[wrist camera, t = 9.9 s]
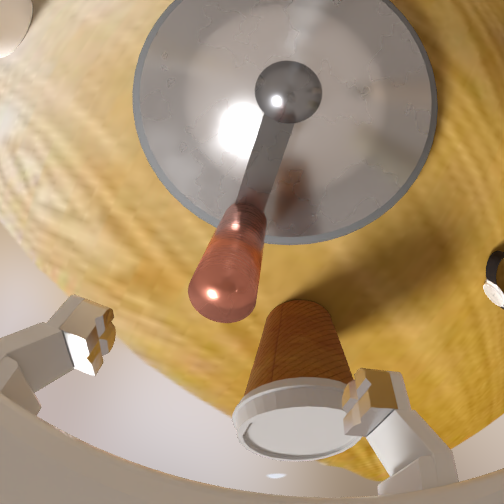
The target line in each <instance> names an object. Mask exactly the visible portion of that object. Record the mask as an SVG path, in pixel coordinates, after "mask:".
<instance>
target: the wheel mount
mask: <svg viewBox="0 0 504 504" xmlns="http://www.w3.org/2000/svg"><path fill="white" fill-rule="evenodd" d="M182 1H183V0H175V1H174V2H173V3H172V4H171V5H170V6H169V7H168V8H167V9H166V10H165V11H164V13H163V14H162V15H161V16H160V18H159V19H158V20H157V22H156V23H155V25H154V27H153V28H152V30H151V31H150V33H149V35H148V37H147V39H146V41H145V43H144V46H143V48H142V50H141V53H140V55H139V59H138V63H137V66H136V70H135V76H134V84H133V113H134V119H135V126H136V130H137V133H138V137H139V140H140V143H141V146H142V149H143V151H144V153H145V155H146V157H147V160H148V162H149V164H150V165H151V167H152V169H153V170H154V172H155V173H156V175H157V177H158V178H159V180H160V181H161V182H162V183H163V185H164V186H165V187H166V188H167V190H168V191H169V192H170V193H171V194H172V195H173V196H174V197H175V198H176V199H177V200H178V201H179V202H180V203H181V204H182V205H183V206H184V207H186V208H187V209H188V210H190V211H191V212H192V213H194V214H195V215H196V216H198V217H199V218H201V219H202V220H204V221H206V222H207V223H209V224H211V225H213V226H214V227H216V228H217V227H218V225H219V223H220V220H218V219H217V218H215V217H213V216H211V215H209V214H208V213H206V212H205V211H203V210H202V209H200V208H199V207H197V206H196V205H195V204H193V203H192V202H191V201H190V200H189V199H188V198H186V197H185V196H184V195H183V194H182V193H181V192H180V191H179V190H178V189H177V188H176V187H175V185H174V184H173V183H172V182H171V181H170V180H169V179H168V177H167V176H166V174H165V173H164V171H163V170H162V168H161V167H160V165H159V164H158V162H157V160H156V158H155V156H154V154H153V152H152V150H151V148H150V146H149V143H148V140H147V137H146V134H145V131H144V127H143V122H142V117H141V109H140V84H141V76H142V71H143V66H144V62H145V59H146V56H147V53H148V51H149V48H150V45H151V43H152V41H153V39H154V37H155V35H156V34H157V32H158V30H159V28H160V27H161V25H162V24H163V23H164V21H165V20H166V19H167V17H168V16H169V15H170V13H171V12H172V11H173V10H174V9H175V8H176V7H177V6H178V5H179V4H180V3H181V2H182ZM382 1H383V2H384V3H385V4H386V5H387V6H388V7H389V8H390V9H391V10H392V11H393V12H394V13H395V14H396V15H397V16H398V17H399V18H400V20H401V21H402V22H403V23H404V25H405V26H406V27H407V29H408V30H409V32H410V33H411V35H412V37H413V39H414V40H415V42H416V44H417V46H418V48H419V50H420V53H421V55H422V57H423V60H424V62H425V66H426V69H427V73H428V77H429V81H430V90H431V99H432V103H431V121H430V127H429V133H428V137H427V140H426V143H425V146H424V149H423V152H422V154H421V156H420V159H419V161H418V163H417V165H416V167H415V169H414V170H413V172H412V173H411V175H410V176H409V178H408V179H407V181H406V182H405V183H404V185H403V186H402V187H401V188H400V189H399V190H398V191H397V193H396V194H395V195H394V196H393V197H392V198H391V199H389V200H388V201H387V202H386V203H385V204H384V205H383V206H381V207H380V208H379V209H377V210H376V211H374V212H373V213H371V214H370V215H368V216H367V217H365V218H363V219H361V220H359V221H357V222H355V223H353V224H351V225H349V226H346V227H343V228H340V229H338V230H335V231H332V232H327V233H323V234H318V235H312V236H302V237H277V236H270V235H265V240H264V243H268V244H281V245H299V244H311V243H317V242H322V241H328V240H331V239H334V238H338V237H341V236H344V235H347V234H349V233H351V232H354V231H356V230H358V229H360V228H363V227H364V226H366V225H368V224H369V223H371V222H373V221H374V220H376V219H377V218H379V217H380V216H381V215H383V214H384V213H385V212H387V211H388V210H389V209H390V208H392V207H393V206H394V205H395V204H396V203H397V202H398V201H399V200H400V199H401V198H402V197H403V195H404V194H405V193H406V192H407V191H408V189H409V188H410V187H411V185H412V184H413V183H414V181H415V180H416V179H417V177H418V175H419V173H420V171H421V170H422V168H423V166H424V164H425V162H426V160H427V157H428V154H429V152H430V149H431V146H432V143H433V139H434V134H435V130H436V123H437V110H438V105H437V89H436V84H435V79H434V74H433V70H432V67H431V64H430V61H429V58H428V55H427V52H426V50H425V48H424V46H423V44H422V42H421V40H420V38H419V37H418V35H417V33H416V32H415V30H414V29H413V27H412V26H411V24H410V23H409V22H408V20H407V19H406V18H405V16H404V15H403V14H402V13H401V12H400V11H399V10H398V9H397V8H396V7H395V5H394V4H393V3H392V2H390V1H389V0H382Z"/></svg>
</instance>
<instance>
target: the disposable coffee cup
mask: <svg viewBox="0 0 504 504" xmlns="http://www.w3.org/2000/svg"><path fill="white" fill-rule="evenodd" d="M351 381H353V377H352V374H351V371H350V368H349V366H348V363H347V360H346V357H345V355H344V352H343V349H342V346H341V344H340V341H339V338H338V336H337V333H336V330H335V327H334V325H333V322H332V319H331V316H330V314H329V313H328V311H327V310H326V309H325V308H324V307H322V306H321V305H319V304H317V303H315V302H312V301H307V300H293V301H289V302H285V303H283V304H281V305H279V306H277V307H276V308H274V309H273V310H272V311H271V312H270V314H269V315H268V317H267V319H266V323H265V327H264V330H263V334H262V337H261V341H260V344H259V347H258V351H257V354H256V358H255V361H254V365H253V368H252V371H251V374H250V378H249V381H248V384H247V388H246V391H245V394H244V397H243V398H242V400H241V401H240V403H239V404H238V405H237V406H236V408H235V410H234V413H233V416H232V421H233V425H234V427H235V429H236V430H237V438H238V440H239V442H240V443H241V444H242V445H243V446H244V447H245V448H246V449H247V450H249V451H251V452H252V453H254V454H257V455H259V456H262V457H266V458H270V459H274V460H280V461H311V460H317V459H322V458H327V457H330V456H333V455H336V454H339V453H341V452H343V451H345V450H347V449H349V448H350V447H352V446H354V445H355V444H356V443H357V442H358V441H359V440H360V439H361V437H362V436H349V435H344V423H343V418H344V417H345V416H346V414H347V413H346V412H345V411H344V410H343V408H342V395H343V392H344V389H345V387H346V386H347V384H348V383H349V382H351Z"/></svg>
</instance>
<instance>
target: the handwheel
mask: <svg viewBox="0 0 504 504" xmlns="http://www.w3.org/2000/svg"><path fill="white" fill-rule="evenodd" d="M431 103H432V99H431V90H430V81H429V77H428V73H427V69H426V66H425V62H424V60H423V57H422V55H421V53H420V50H419V48H418V46H417V44H416V42H415V40H414V39H413V37H412V35H411V33H410V32H409V30H408V29H407V27H406V26H405V25H404V23H403V22H402V21H401V20H400V18H399V17H398V16H397V15H396V14H395V13H394V12H393V11H392V10H391V9H390V8H389V7H388V6H387V5H386V4H385V3H384V2H383V1H382V0H183V1H182V2H181V3H180V4H179V5H178V6H177V7H176V8H175V9H174V10H173V11H172V12H171V13H170V15H169V16H168V17H167V19H166V20H165V21H164V23H163V24H162V25H161V27H160V28H159V30H158V32H157V34H156V35H155V37H154V39H153V41H152V43H151V45H150V48H149V51H148V53H147V56H146V59H145V62H144V66H143V71H142V76H141V84H140V109H141V117H142V122H143V127H144V131H145V134H146V137H147V140H148V143H149V146H150V148H151V150H152V152H153V154H154V156H155V158H156V160H157V162H158V164H159V165H160V167H161V168H162V170H163V171H164V173H165V174H166V176H167V177H168V179H169V180H170V181H171V182H172V183H173V184H174V185H175V187H176V188H177V189H178V190H179V191H180V192H181V193H182V194H183V195H184V196H185V197H186V198H188V199H189V200H190V201H191V202H192V203H193V204H195V205H196V206H197V207H199V208H200V209H202V210H203V211H205V212H206V213H208V214H209V215H211V216H213V217H215V218H217V219H218V220H220V223H219V225H218V227H217V229H216V231H215V233H214V235H213V237H212V239H211V241H210V243H209V245H208V247H207V249H206V251H205V253H204V255H203V257H202V259H201V261H200V263H199V265H198V267H197V269H196V271H195V273H194V275H193V277H192V279H191V281H190V284H189V288H188V294H189V298H190V301H191V303H192V305H193V306H194V308H195V309H196V310H197V311H198V312H199V313H200V314H201V315H203V316H204V317H206V318H208V319H210V320H213V321H216V322H221V323H232V322H237V321H240V320H242V319H244V318H246V317H247V316H248V315H249V314H250V313H251V312H252V311H253V309H254V307H255V304H256V299H257V292H258V284H259V277H260V270H261V262H262V255H263V248H264V240H265V235H270V236H277V237H302V236H312V235H318V234H323V233H327V232H332V231H335V230H338V229H340V228H343V227H346V226H349V225H351V224H353V223H355V222H357V221H359V220H361V219H363V218H365V217H367V216H368V215H370V214H371V213H373V212H374V211H376V210H377V209H379V208H380V207H381V206H383V205H384V204H385V203H386V202H387V201H388V200H389V199H391V198H392V197H393V196H394V195H395V194H396V193H397V191H398V190H399V189H400V188H401V187H402V186H403V185H404V183H405V182H406V181H407V179H408V178H409V176H410V175H411V173H412V172H413V170H414V169H415V167H416V165H417V163H418V161H419V159H420V156H421V154H422V152H423V149H424V146H425V143H426V140H427V137H428V133H429V127H430V121H431Z"/></svg>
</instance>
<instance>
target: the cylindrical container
mask: <svg viewBox="0 0 504 504" xmlns="http://www.w3.org/2000/svg"><path fill="white" fill-rule="evenodd" d="M32 14H33V4H32V1H31V0H0V57H6V56H8V55H10V54H11V53H12V52H13V51H14V50H15V49H16V48H17V47H18V46H19V45H20V43H21V41H22V40H23V38H24V36H25V35H26V33H27V30H28V28H29V25H30V22H31V19H32Z"/></svg>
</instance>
